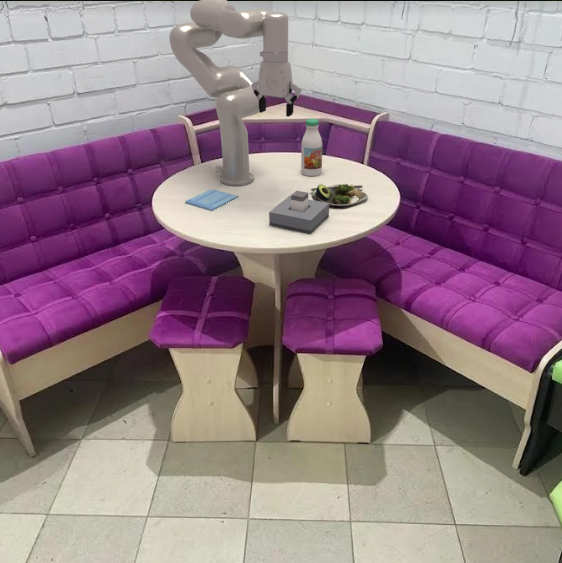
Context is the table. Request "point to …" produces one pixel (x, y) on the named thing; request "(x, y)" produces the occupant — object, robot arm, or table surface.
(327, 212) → the block
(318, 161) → the milk bottle
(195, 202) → the blue striped cloth
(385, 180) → the table surface
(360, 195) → the salad plate
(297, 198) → the block
